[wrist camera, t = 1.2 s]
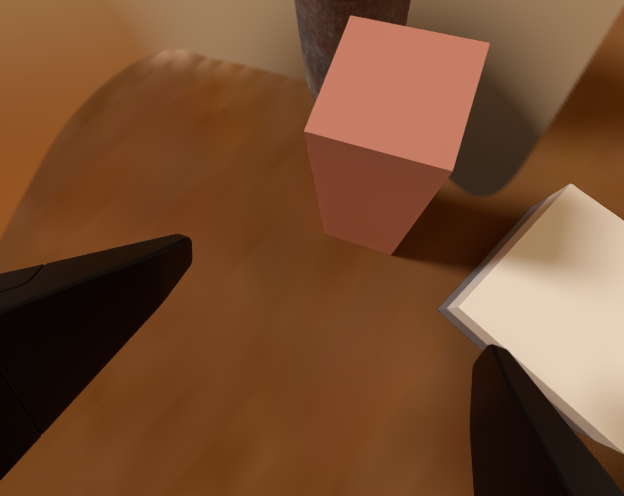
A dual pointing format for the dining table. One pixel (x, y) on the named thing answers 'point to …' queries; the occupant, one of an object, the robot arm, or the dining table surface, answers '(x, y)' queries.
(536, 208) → the base block
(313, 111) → the top brick
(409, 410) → the dining table surface
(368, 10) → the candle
